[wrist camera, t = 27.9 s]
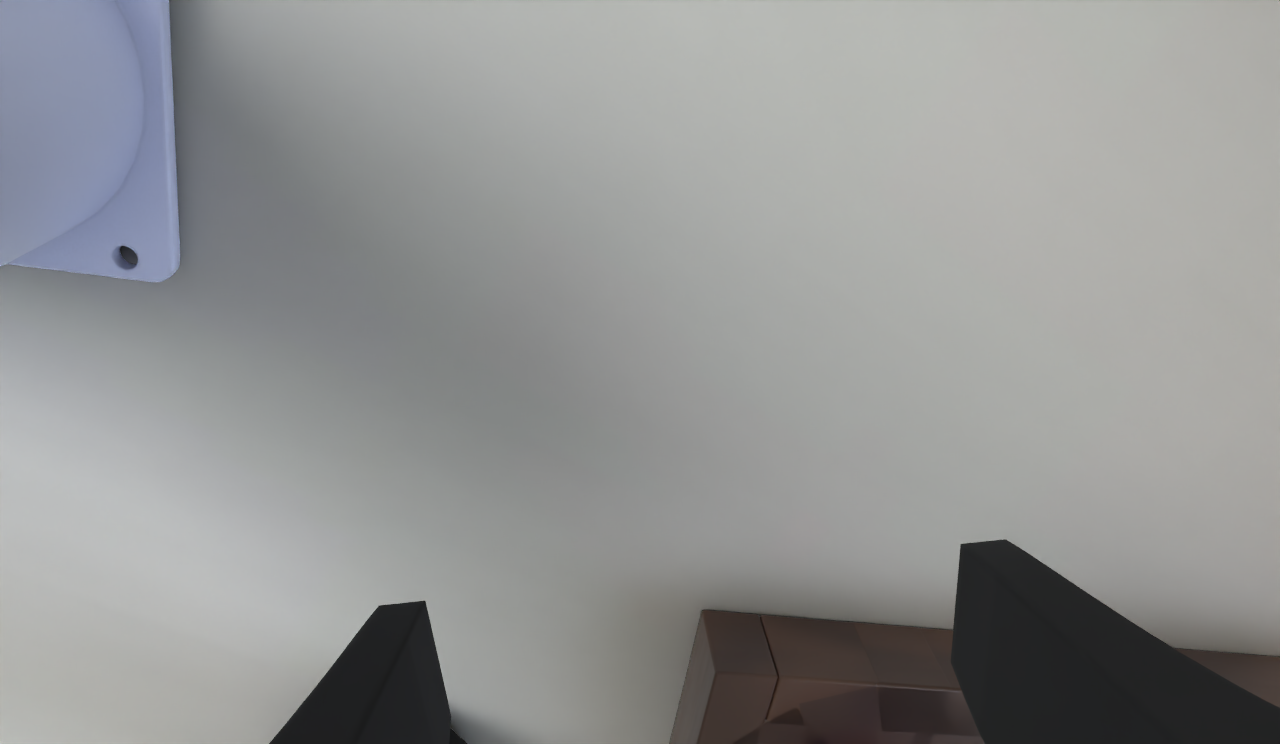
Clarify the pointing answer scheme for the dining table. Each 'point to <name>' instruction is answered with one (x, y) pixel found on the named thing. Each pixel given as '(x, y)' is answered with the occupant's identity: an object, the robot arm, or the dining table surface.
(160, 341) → the dining table surface
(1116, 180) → the dining table surface
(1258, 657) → the socket plate
